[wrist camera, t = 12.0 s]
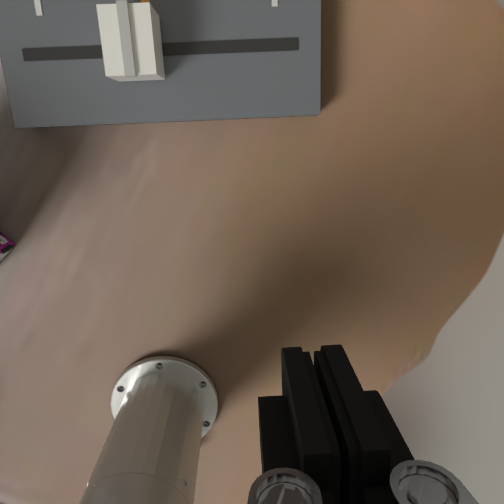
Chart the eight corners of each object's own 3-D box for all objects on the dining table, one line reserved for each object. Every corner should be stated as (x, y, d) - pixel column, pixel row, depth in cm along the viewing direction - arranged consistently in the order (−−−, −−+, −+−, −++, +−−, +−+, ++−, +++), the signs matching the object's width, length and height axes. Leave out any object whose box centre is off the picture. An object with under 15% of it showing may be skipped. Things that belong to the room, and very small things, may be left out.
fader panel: (314, 115, 41) (320, 114, 38) (30, 128, 41) (13, 128, 38) (314, -24, 38) (321, -36, 35) (4, -12, 37) (-17, -24, 34)
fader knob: (165, 80, 36) (155, 74, 32) (119, 82, 36) (104, 76, 32) (158, 14, 35) (148, -1, 31) (111, 16, 35) (93, 1, 31)
